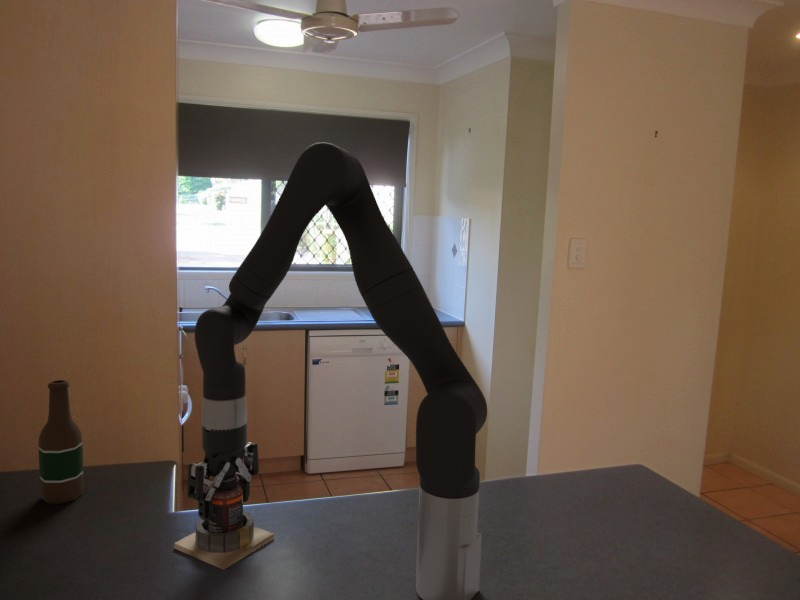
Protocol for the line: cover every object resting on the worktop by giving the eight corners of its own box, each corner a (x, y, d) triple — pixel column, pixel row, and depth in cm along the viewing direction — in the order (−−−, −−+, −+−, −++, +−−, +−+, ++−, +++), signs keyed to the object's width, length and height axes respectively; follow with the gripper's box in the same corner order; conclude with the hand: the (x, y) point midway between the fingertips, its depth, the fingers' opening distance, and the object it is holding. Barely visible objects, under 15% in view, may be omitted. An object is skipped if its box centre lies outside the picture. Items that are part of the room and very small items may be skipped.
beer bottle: (42, 491, 127) (37, 378, 124) (84, 485, 130) (81, 375, 127) (38, 507, 120) (33, 388, 117) (83, 501, 123) (79, 384, 120)
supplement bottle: (248, 532, 111) (249, 472, 109) (233, 548, 105) (233, 485, 104) (218, 528, 112) (218, 468, 111) (201, 543, 106) (201, 481, 105)
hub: (273, 538, 111) (273, 517, 110) (223, 569, 100) (223, 546, 100) (226, 521, 117) (226, 501, 116) (174, 548, 106) (173, 526, 106)
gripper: (239, 407, 114) (239, 490, 116) (176, 427, 102) (177, 520, 103) (269, 414, 110) (268, 500, 112) (207, 436, 98) (208, 532, 100)
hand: (224, 509), depth 108 cm, fingers open, 8 cm apart
